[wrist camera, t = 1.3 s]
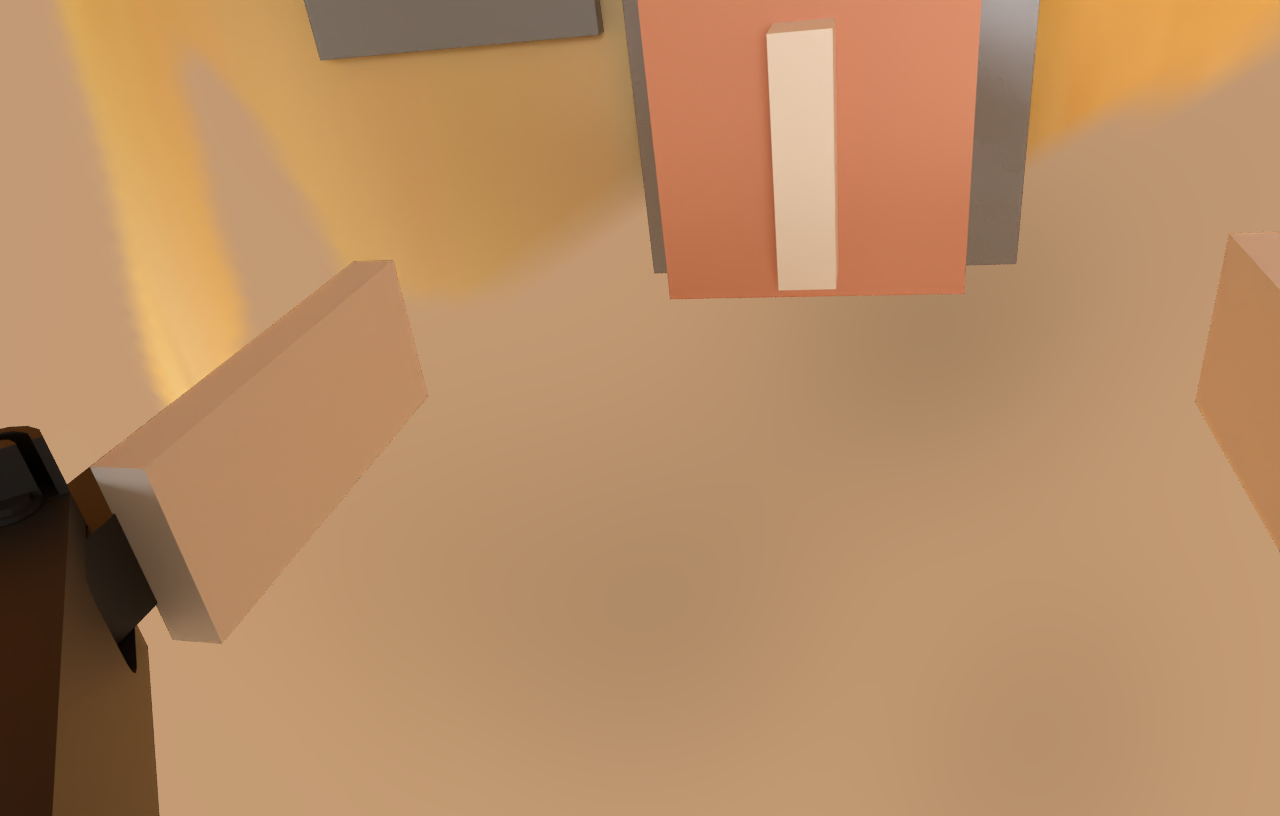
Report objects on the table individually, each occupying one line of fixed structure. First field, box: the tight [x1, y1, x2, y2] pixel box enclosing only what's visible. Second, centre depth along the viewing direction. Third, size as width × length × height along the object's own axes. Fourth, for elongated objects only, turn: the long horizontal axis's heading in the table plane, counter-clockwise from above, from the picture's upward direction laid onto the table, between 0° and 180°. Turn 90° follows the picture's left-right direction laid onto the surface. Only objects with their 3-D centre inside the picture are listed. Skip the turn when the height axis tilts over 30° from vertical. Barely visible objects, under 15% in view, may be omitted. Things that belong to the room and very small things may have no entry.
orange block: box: [637, 0, 982, 299], centre depth 24 cm, size 8×8×7 cm
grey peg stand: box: [622, 0, 1040, 273], centre depth 27 cm, size 12×12×7 cm
